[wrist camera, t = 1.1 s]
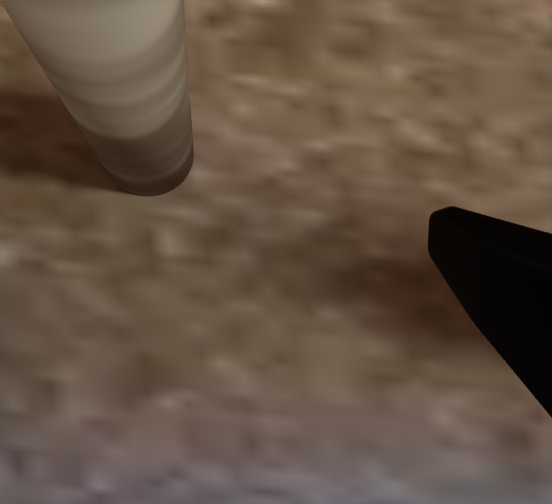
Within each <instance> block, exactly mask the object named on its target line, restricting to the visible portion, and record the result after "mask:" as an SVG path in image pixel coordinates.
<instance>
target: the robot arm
mask: <svg viewBox="0 0 552 504" xmlns="http://www.w3.org/2000/svg"><path fill="white" fill-rule="evenodd" d="M428 251H429V255H430V257H431V259H432V260H433V262H434V264H435V265H436V267H437V268H438V270H439V271H440V273H441V274H442V276H443V277H444V279H445V280H446V282H447V284H448V285H449V287H450V288H451V290H452V291H453V293H454V294H455V296H456V297H457V299H458V300H459V302H460V304H461V305H462V307H463V308H464V310H465V311H466V313H467V314H468V315H469V317H470V318H471V320H472V321H473V322H474V324H475V325H476V326H477V327H478V329H479V330H480V331H481V332H482V334H483V335H484V336H485V337H486V338H487V340H488V341H489V342H490V343H491V344H492V346H493V347H494V348H495V349H496V351H497V352H498V353H499V354H500V355H501V357H502V358H503V359H504V360H505V361H506V363H507V364H508V365H509V366H510V368H511V369H512V370H513V371H514V372H515V374H516V375H517V376H518V377H519V379H520V380H521V381H522V382H523V383H524V385H525V386H526V387H527V388H528V389H529V391H530V392H531V393H532V394H533V396H534V397H535V398H536V399H537V400H538V402H539V403H540V404H541V405H542V406H543V408H544V409H545V410H546V411H547V413H548V414H549V415H550V416H551V417H552V234H550V233H547V232H543V231H540V230H536V229H533V228H529V227H525V226H522V225H518V224H515V223H511V222H508V221H504V220H500V219H497V218H493V217H490V216H486V215H483V214H479V213H475V212H472V211H468V210H465V209H461V208H458V207H454V206H450V207H446V208H443V209H440V210H437V211H434V212H433V213H432V214H431V216H430V219H429V233H428Z"/></svg>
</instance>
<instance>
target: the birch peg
mask: <svg viewBox="0 0 552 504" xmlns="http://www.w3.org/2000/svg"><path fill="white" fill-rule="evenodd" d="M0 2H1V3H2V5H3V6H4V8H5V10H6V11H7V13H8V14H9V16H10V18H11V19H12V21H13V22H14V24H15V26H16V27H17V29H18V30H19V32H20V34H21V35H22V37H23V39H24V40H25V42H26V43H27V45H28V47H29V48H30V50H31V51H32V53H33V55H34V56H35V58H36V59H37V61H38V63H39V64H40V66H41V67H42V69H43V71H44V72H45V74H46V75H47V77H48V79H49V80H50V82H51V83H52V85H53V87H54V88H55V90H56V92H57V93H58V95H59V96H60V98H61V100H62V101H63V103H64V104H65V106H66V108H67V109H68V111H69V112H70V114H71V116H72V117H73V119H74V120H75V122H76V124H77V125H78V127H79V128H80V130H81V132H82V133H83V135H84V136H85V138H86V140H87V141H88V143H89V144H90V146H91V148H92V149H93V151H94V153H95V154H96V156H97V157H98V159H99V161H100V162H101V164H102V165H103V167H104V169H105V170H106V172H107V173H108V175H109V177H110V178H111V179H112V180H113V182H114V183H116V184H117V185H118V186H119V187H120V188H122V189H123V190H125V191H127V192H129V193H132V194H135V195H139V196H158V195H162V194H165V193H167V192H169V191H171V190H173V189H175V188H176V187H177V186H179V185H180V184H181V183H182V182H183V181H184V179H185V178H186V177H187V175H188V173H189V172H190V169H191V167H192V163H193V156H194V153H193V136H192V121H191V106H190V91H189V76H188V61H187V46H186V30H185V15H184V0H0Z"/></svg>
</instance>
